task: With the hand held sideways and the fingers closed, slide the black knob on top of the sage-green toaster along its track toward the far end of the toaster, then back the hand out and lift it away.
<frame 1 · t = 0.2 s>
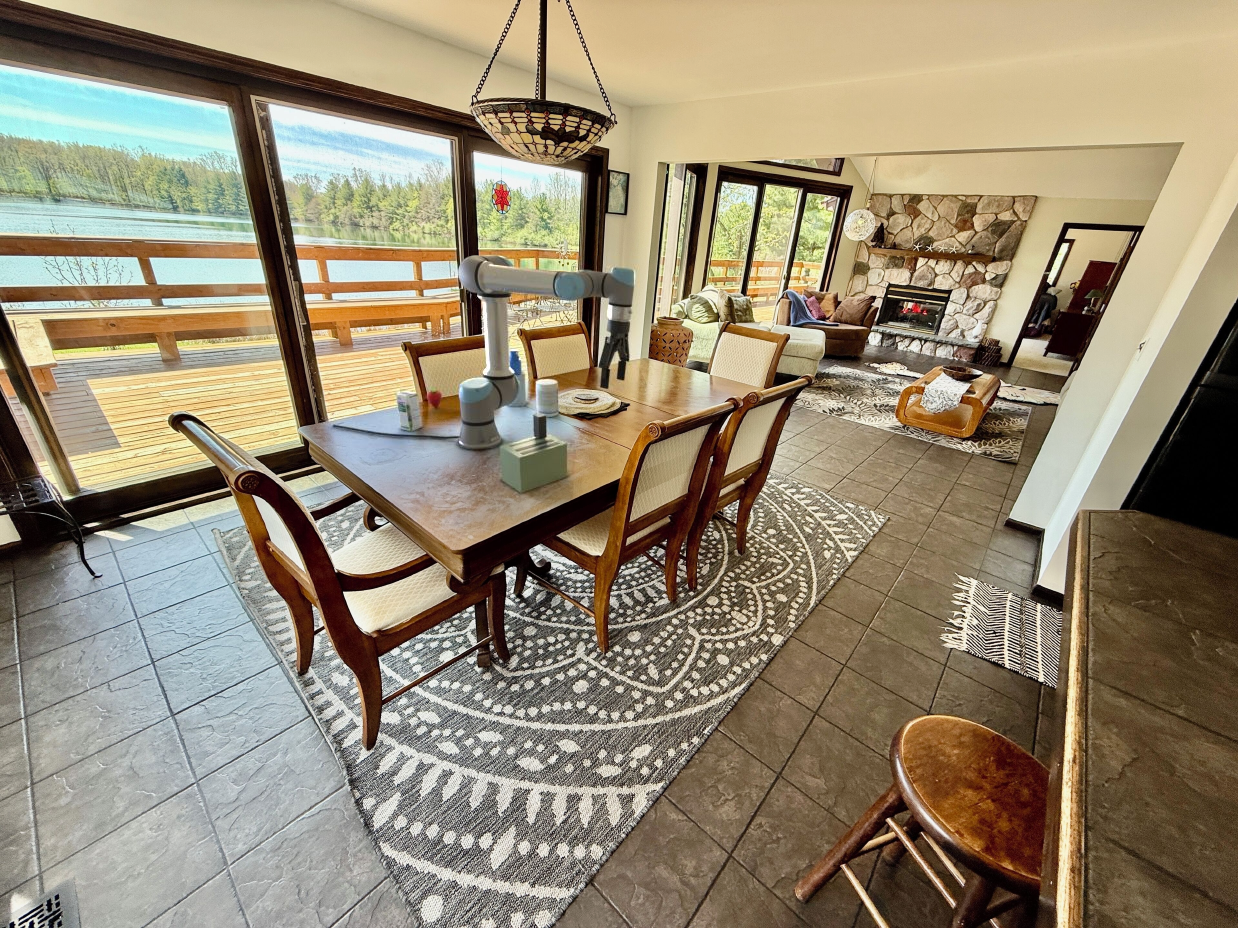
hand: (612, 383, 163), 27 cm above the table, tool pointing down, fingers open, 13 cm apart
syrup box: (411, 428, 190), on the table
spray bottle: (516, 403, 224), on the table
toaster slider: (540, 426, 155), point 16 cm above the table, slide at 0.0 cm
toaster: (534, 478, 157), on the table
strawberry: (435, 408, 213), on the table
supplement tub: (547, 414, 213), on the table
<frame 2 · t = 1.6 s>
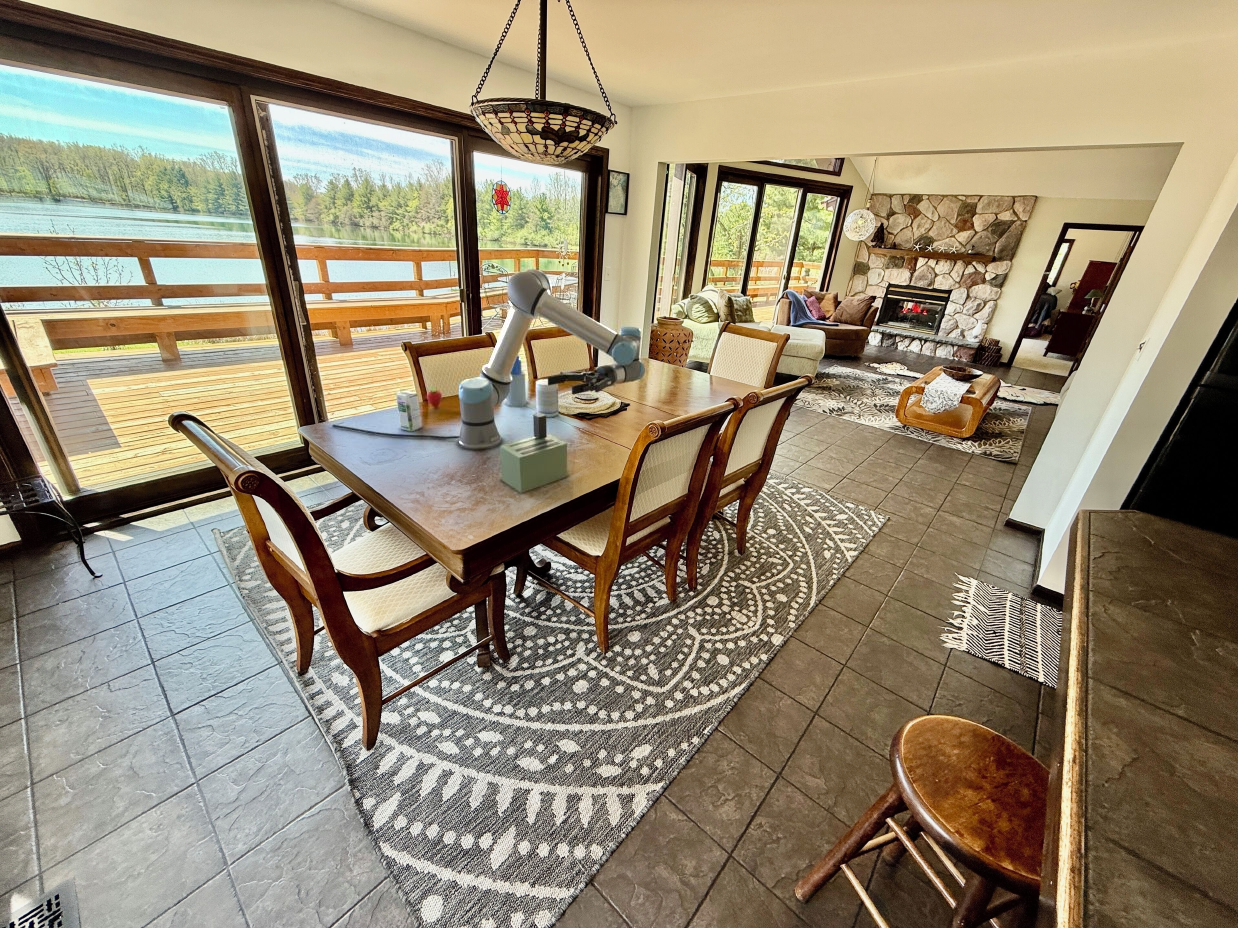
hand: (560, 385, 155), 28 cm above the table, tool horizontal, fingers open, 12 cm apart
nothing on the table moved.
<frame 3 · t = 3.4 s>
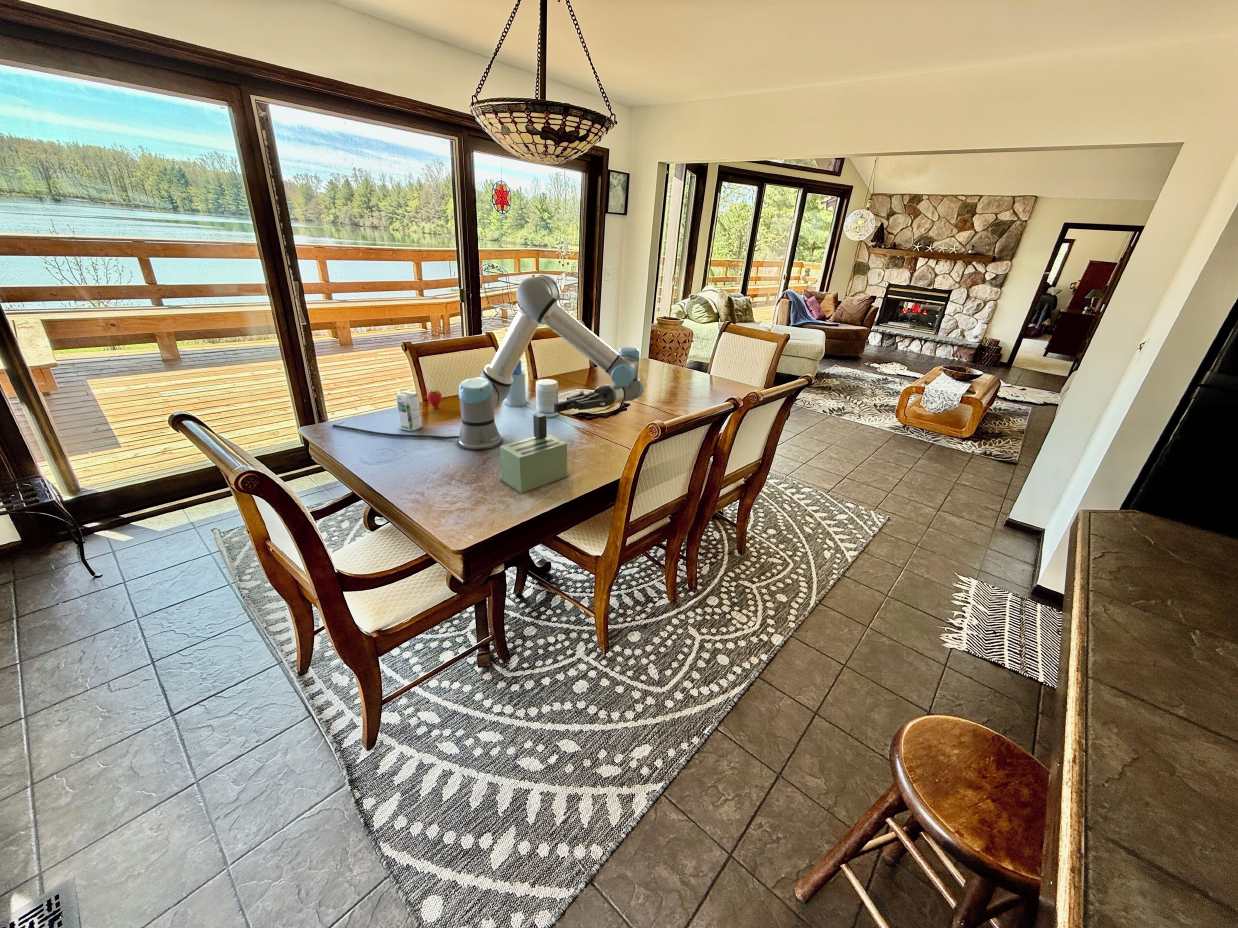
hand: (555, 408, 157), 21 cm above the table, tool horizontal, fingers closed
nothing on the table moved.
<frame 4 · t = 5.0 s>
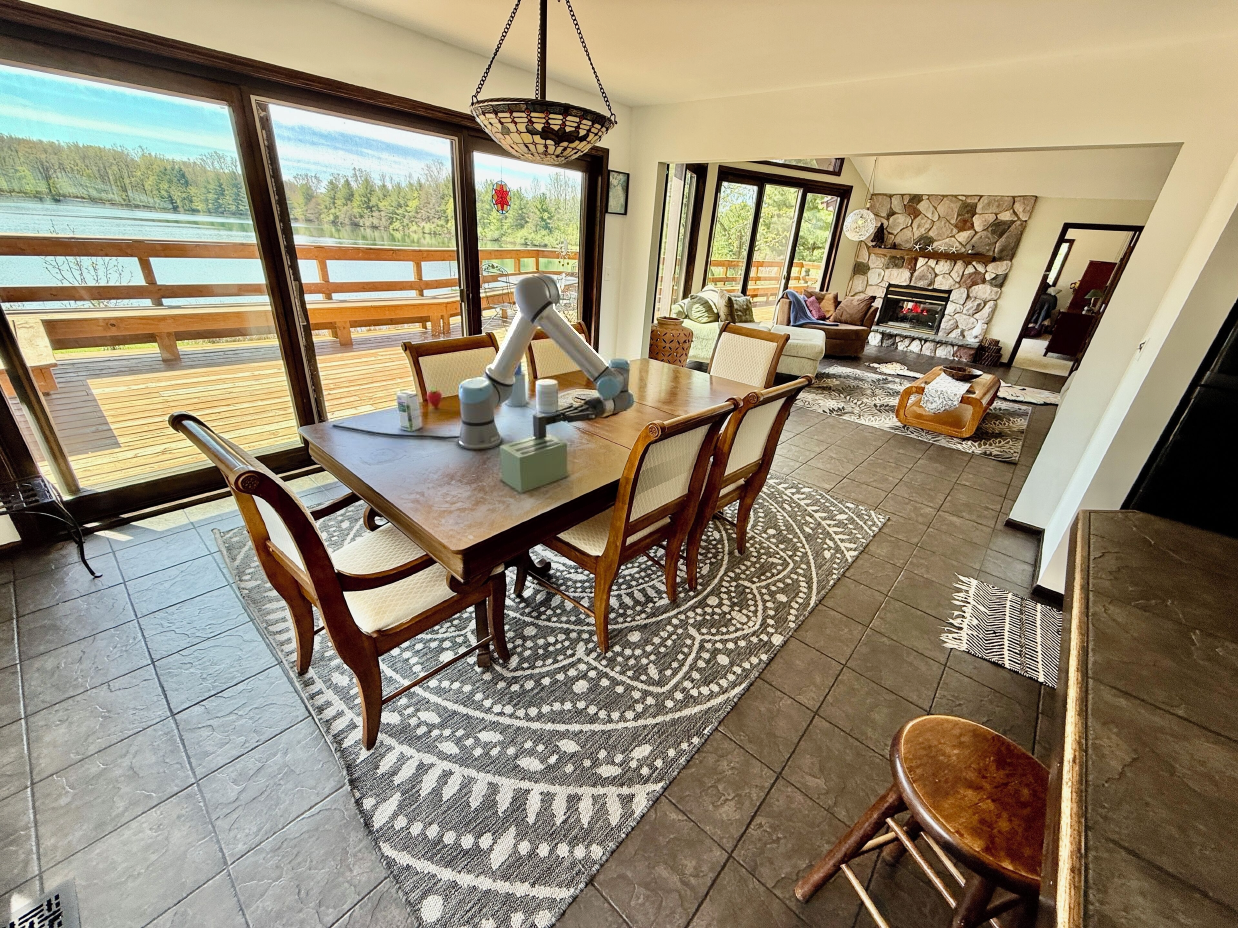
hand: (544, 421, 156), 17 cm above the table, tool horizontal, fingers closed
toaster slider: (539, 426, 155), point 16 cm above the table, slide at 0.1 cm, touching gripper
everything else where it was.
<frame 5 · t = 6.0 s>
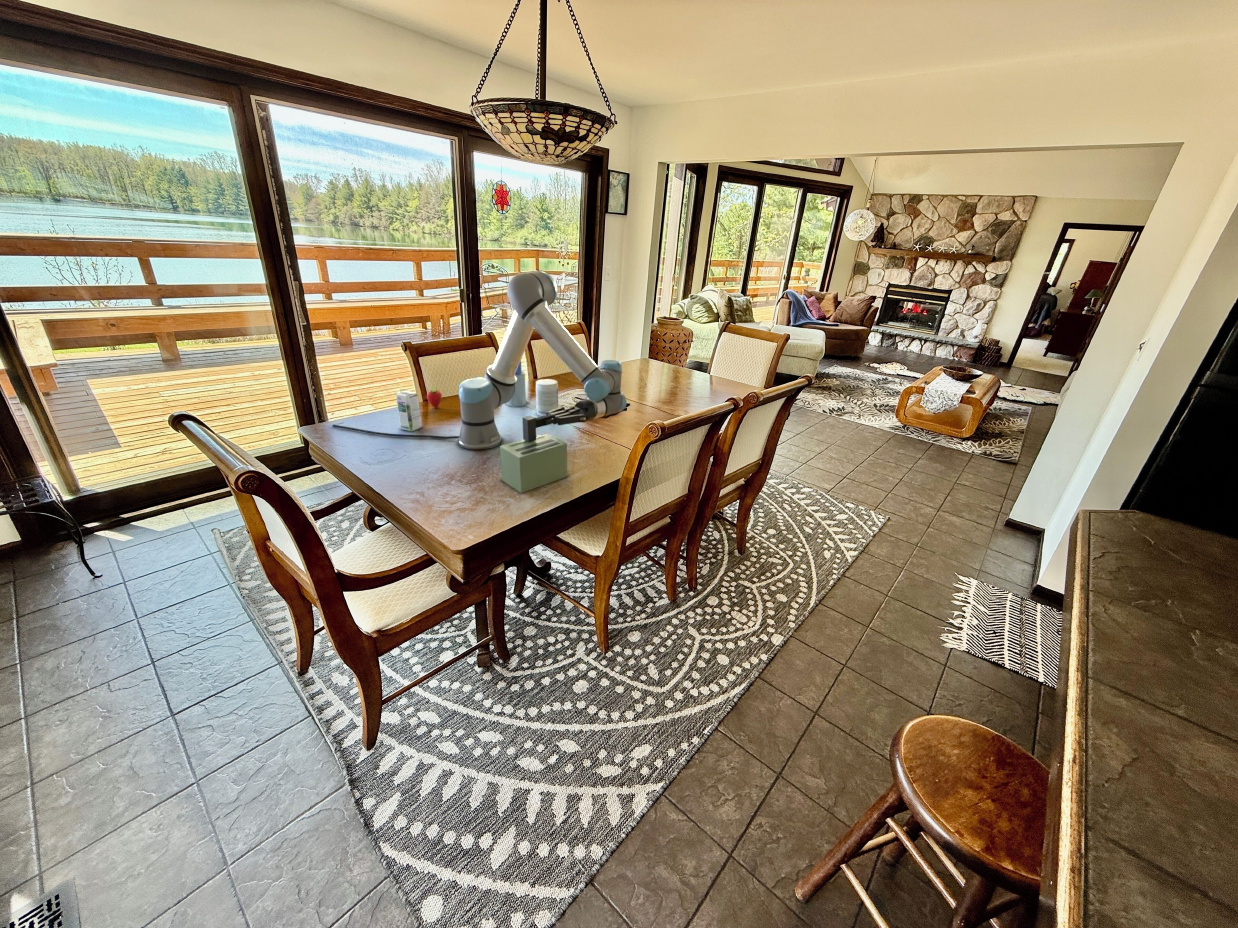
hand: (534, 423, 153), 17 cm above the table, tool horizontal, fingers closed
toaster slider: (529, 428, 152), point 16 cm above the table, slide at 4.1 cm, touching gripper
everything else where it was.
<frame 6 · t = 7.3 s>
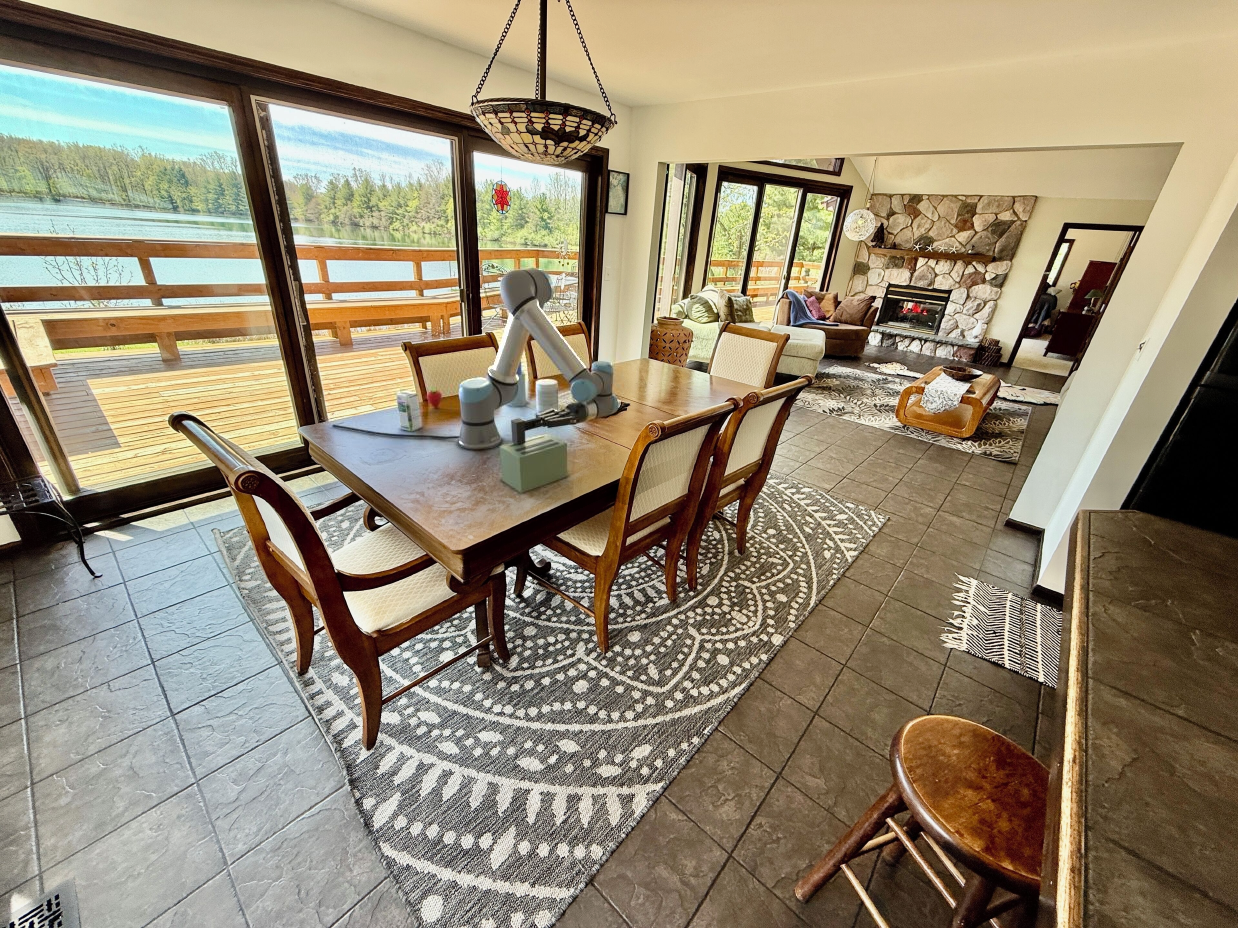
hand: (523, 426, 150), 17 cm above the table, tool horizontal, fingers closed
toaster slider: (518, 431, 150), point 16 cm above the table, slide at 8.2 cm, touching gripper
everything else where it was.
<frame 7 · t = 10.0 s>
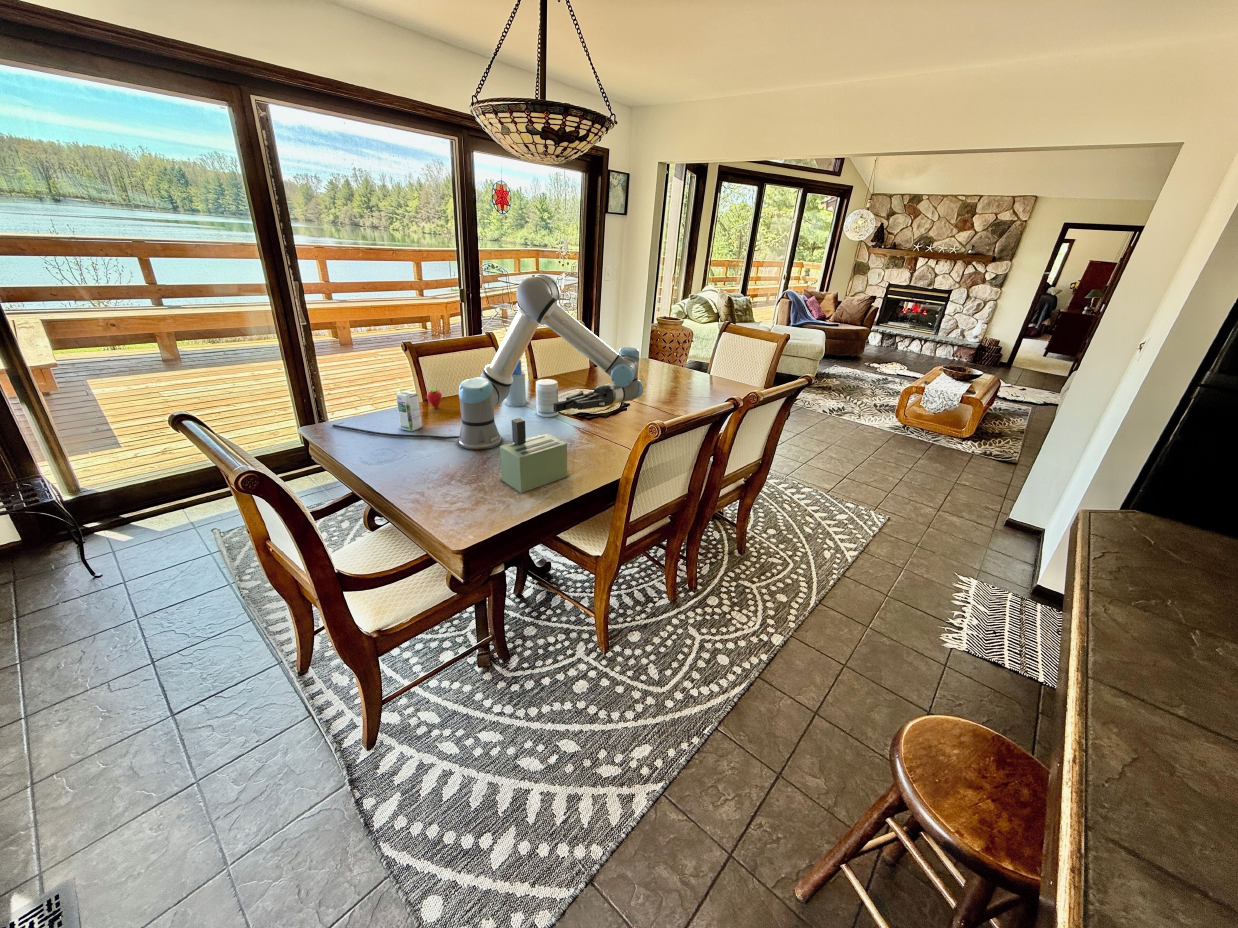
hand: (554, 407, 157), 21 cm above the table, tool horizontal, fingers closed
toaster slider: (518, 431, 150), point 16 cm above the table, slide at 8.1 cm
everything else where it was.
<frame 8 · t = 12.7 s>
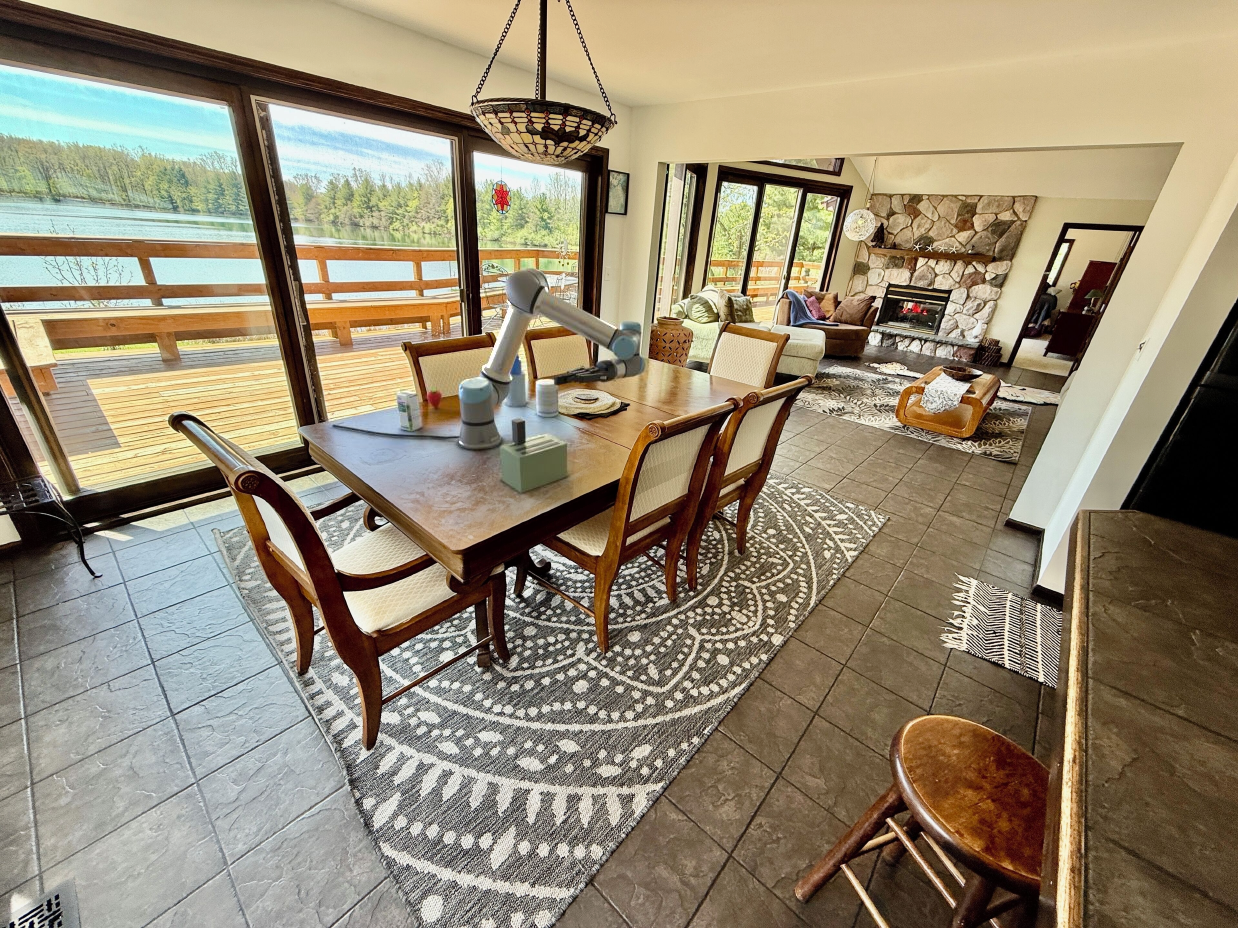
hand: (555, 380, 153), 30 cm above the table, tool horizontal, fingers closed
nothing on the table moved.
at the end: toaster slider slide at 8.1 cm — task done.
